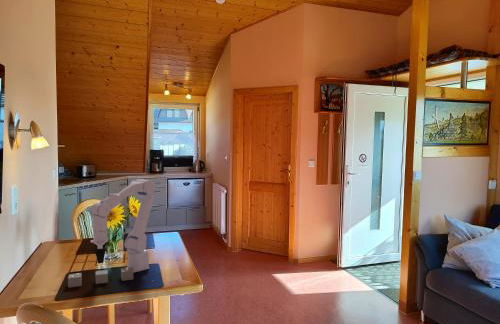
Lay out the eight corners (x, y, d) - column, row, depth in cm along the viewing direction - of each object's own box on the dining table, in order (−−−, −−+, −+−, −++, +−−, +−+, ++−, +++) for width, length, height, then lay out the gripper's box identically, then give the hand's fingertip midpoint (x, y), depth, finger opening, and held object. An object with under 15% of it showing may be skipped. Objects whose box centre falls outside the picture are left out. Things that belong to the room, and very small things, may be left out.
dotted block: (81, 281, 161) (81, 272, 160) (81, 285, 156) (80, 276, 156) (69, 283, 159) (68, 273, 158) (68, 287, 154) (67, 277, 154)
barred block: (132, 275, 169) (132, 266, 168) (133, 279, 164) (133, 270, 164) (121, 276, 167) (121, 267, 167) (121, 280, 162) (121, 271, 162)
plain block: (107, 278, 165) (107, 269, 164) (107, 282, 160) (107, 273, 160) (95, 280, 163) (95, 271, 163) (95, 284, 158) (95, 275, 158)
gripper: (91, 227, 165) (91, 256, 166) (89, 235, 152) (90, 266, 153) (107, 225, 168) (108, 254, 169) (107, 233, 154) (108, 264, 155)
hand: (100, 260), depth 161 cm, fingers open, 7 cm apart
